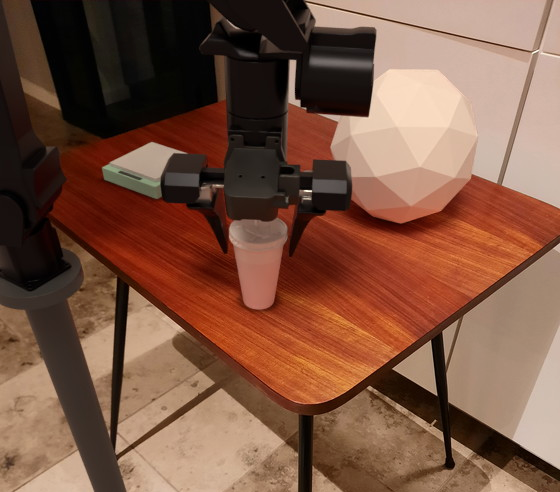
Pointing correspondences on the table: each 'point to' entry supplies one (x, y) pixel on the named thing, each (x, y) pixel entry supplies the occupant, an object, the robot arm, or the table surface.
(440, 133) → the ball
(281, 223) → the smoothie
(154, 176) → the scale
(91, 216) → the table surface
